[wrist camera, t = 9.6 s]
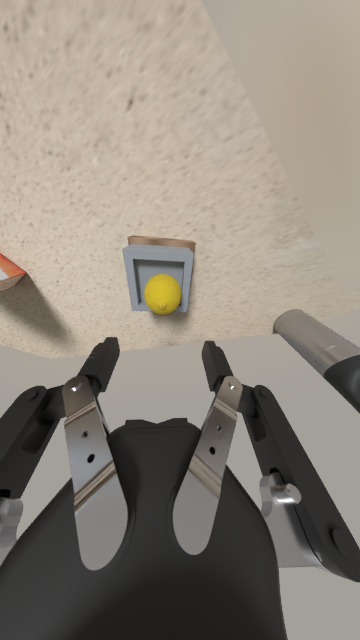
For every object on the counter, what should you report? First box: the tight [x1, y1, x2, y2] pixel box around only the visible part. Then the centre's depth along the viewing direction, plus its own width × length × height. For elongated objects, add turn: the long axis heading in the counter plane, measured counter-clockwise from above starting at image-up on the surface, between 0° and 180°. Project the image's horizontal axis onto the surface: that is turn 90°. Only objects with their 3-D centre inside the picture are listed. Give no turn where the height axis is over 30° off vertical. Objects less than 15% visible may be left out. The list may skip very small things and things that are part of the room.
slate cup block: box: [122, 244, 194, 312], centre depth 24 cm, size 10×10×6 cm
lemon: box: [144, 274, 182, 315], centre depth 20 cm, size 6×6×8 cm
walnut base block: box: [128, 235, 196, 290], centre depth 29 cm, size 12×12×5 cm
